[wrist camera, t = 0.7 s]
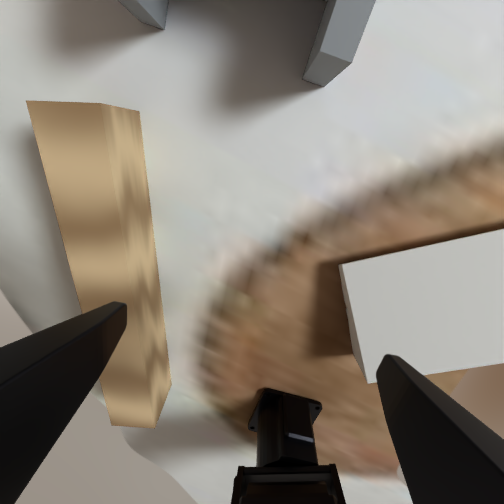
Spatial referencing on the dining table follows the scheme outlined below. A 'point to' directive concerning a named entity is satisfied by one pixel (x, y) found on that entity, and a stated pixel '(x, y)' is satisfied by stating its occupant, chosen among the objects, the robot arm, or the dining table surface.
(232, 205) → the dining table surface
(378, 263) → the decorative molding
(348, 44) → the end cap
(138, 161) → the oak slat
